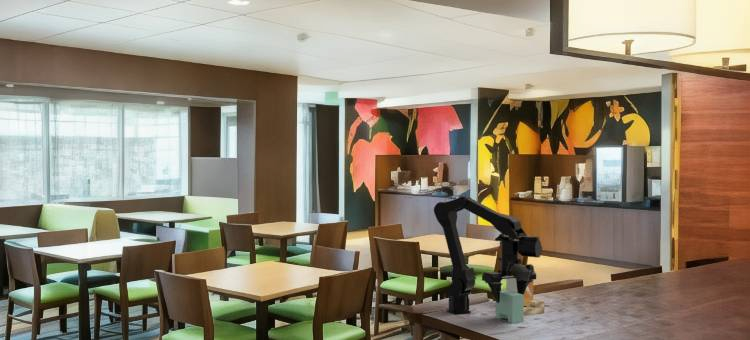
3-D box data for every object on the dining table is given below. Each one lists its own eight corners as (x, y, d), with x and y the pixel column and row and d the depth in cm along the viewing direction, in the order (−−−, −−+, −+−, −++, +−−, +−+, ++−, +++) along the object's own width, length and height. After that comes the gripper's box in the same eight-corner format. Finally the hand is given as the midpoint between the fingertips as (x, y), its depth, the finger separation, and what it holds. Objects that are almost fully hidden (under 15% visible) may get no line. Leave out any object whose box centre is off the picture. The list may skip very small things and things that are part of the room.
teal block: (512, 323, 213) (512, 295, 213) (495, 317, 221) (495, 291, 221) (523, 322, 215) (523, 294, 215) (506, 316, 223) (506, 290, 223)
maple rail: (512, 316, 223) (512, 304, 223) (506, 314, 225) (506, 303, 225) (544, 312, 229) (544, 301, 229) (538, 311, 231) (538, 299, 231)
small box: (518, 308, 236) (518, 272, 236) (505, 305, 241) (505, 270, 241) (533, 305, 240) (534, 270, 240) (521, 302, 246) (521, 268, 246)
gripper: (501, 259, 206) (501, 308, 206) (547, 256, 215) (547, 303, 215) (481, 255, 216) (480, 302, 216) (525, 252, 225) (525, 297, 225)
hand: (509, 301), depth 218 cm, fingers open, 9 cm apart
